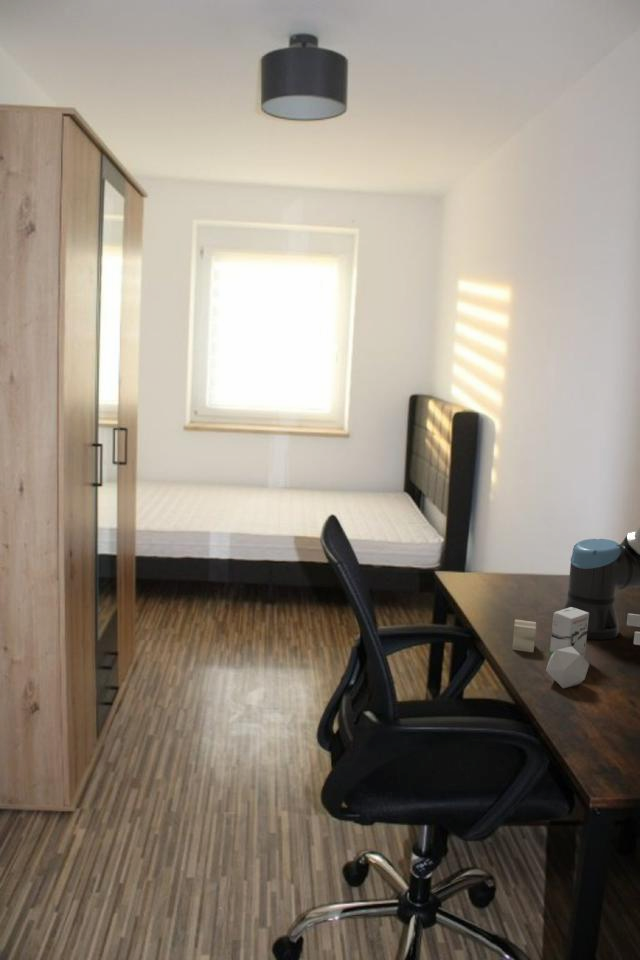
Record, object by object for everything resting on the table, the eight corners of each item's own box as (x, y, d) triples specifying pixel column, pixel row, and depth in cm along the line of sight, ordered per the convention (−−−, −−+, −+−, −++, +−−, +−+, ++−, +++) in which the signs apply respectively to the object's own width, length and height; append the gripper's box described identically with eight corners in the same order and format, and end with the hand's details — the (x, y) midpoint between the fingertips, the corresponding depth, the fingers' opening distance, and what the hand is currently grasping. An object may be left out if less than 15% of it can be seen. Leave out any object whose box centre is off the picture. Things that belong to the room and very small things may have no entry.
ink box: (566, 668, 189) (572, 618, 187) (547, 661, 193) (552, 612, 191) (585, 659, 195) (590, 611, 193) (566, 653, 199) (571, 605, 197)
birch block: (512, 642, 204) (515, 619, 203) (533, 645, 203) (536, 622, 202) (512, 649, 199) (514, 625, 198) (533, 652, 198) (535, 628, 197)
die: (565, 676, 186) (543, 642, 185) (600, 667, 181) (577, 633, 179) (557, 700, 180) (534, 666, 178) (593, 692, 175) (569, 657, 173)
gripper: (744, 677, 172) (635, 663, 177) (718, 638, 196) (623, 627, 201) (748, 642, 171) (639, 629, 176) (722, 607, 195) (626, 597, 200)
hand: (630, 628), depth 188 cm, fingers open, 13 cm apart
